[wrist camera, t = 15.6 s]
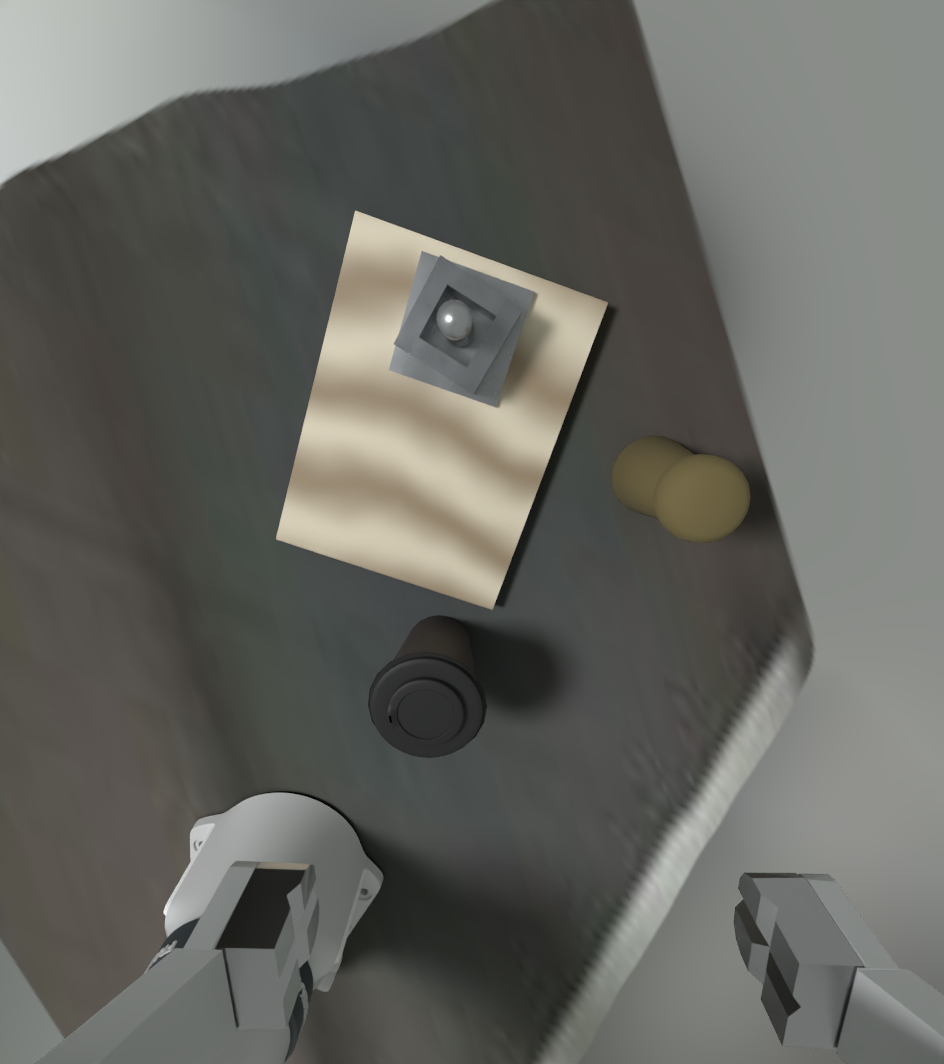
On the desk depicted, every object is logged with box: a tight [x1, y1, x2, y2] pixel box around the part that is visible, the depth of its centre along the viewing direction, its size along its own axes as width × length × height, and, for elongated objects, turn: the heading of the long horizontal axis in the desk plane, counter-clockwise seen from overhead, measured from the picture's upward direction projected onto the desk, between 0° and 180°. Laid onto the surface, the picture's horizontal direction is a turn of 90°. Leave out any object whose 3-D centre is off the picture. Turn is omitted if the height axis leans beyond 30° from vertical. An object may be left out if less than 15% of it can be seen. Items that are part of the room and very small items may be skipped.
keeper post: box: [389, 251, 534, 407], centre depth 32 cm, size 8×8×6 cm
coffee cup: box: [368, 616, 487, 758], centre depth 38 cm, size 8×8×10 cm
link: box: [394, 255, 523, 395], centre depth 33 cm, size 6×6×3 cm
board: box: [276, 211, 608, 610], centre depth 37 cm, size 24×18×1 cm
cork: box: [612, 436, 751, 543], centre depth 33 cm, size 6×6×11 cm
